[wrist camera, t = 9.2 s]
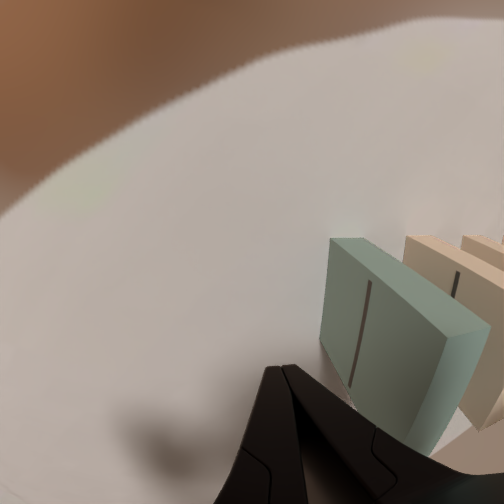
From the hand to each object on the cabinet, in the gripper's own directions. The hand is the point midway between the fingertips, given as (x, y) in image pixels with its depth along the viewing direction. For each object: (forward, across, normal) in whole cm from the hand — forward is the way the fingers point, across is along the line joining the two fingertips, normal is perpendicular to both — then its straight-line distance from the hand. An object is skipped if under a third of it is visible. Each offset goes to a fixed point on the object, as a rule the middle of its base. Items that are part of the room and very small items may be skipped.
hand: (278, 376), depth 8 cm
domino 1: (+6, -4, 0) cm, 7 cm away
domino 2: (+6, -8, 0) cm, 10 cm away
